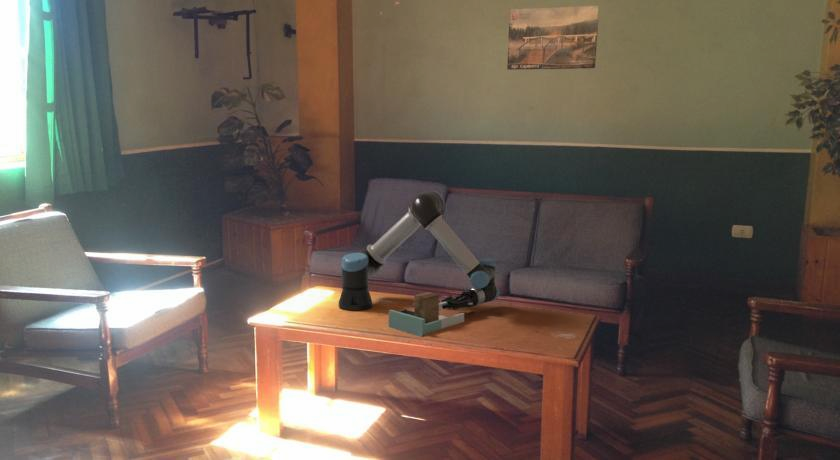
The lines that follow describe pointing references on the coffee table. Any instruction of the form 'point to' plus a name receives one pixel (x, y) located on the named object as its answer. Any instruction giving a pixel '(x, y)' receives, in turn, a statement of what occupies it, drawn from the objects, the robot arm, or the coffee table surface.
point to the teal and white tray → (420, 323)
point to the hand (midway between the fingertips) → (435, 307)
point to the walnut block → (427, 306)
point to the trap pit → (407, 312)
